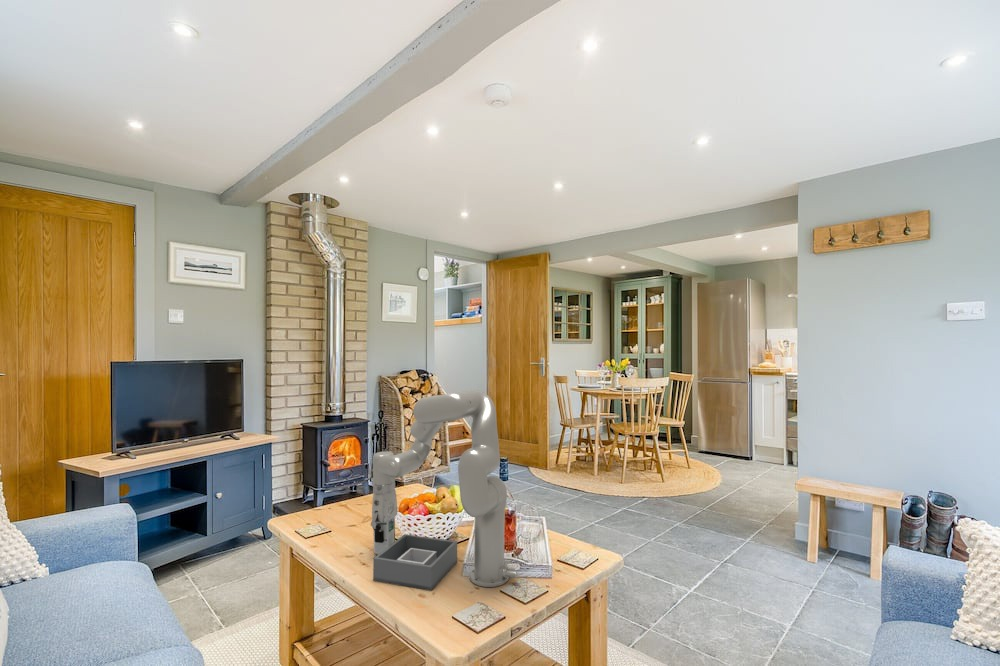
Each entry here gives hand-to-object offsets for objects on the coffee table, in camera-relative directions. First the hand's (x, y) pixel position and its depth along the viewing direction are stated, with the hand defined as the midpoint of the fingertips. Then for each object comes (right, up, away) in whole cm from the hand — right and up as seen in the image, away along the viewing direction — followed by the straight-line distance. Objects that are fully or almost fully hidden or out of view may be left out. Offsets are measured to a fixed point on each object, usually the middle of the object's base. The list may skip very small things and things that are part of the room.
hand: (384, 538), depth 173 cm
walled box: (+14, -5, -14) cm, 20 cm away
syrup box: (0, -5, 0) cm, 5 cm away
